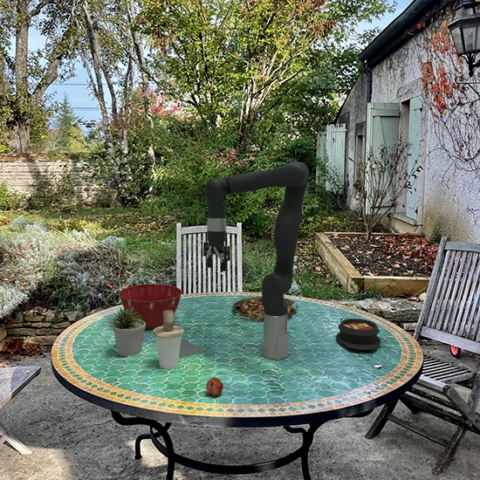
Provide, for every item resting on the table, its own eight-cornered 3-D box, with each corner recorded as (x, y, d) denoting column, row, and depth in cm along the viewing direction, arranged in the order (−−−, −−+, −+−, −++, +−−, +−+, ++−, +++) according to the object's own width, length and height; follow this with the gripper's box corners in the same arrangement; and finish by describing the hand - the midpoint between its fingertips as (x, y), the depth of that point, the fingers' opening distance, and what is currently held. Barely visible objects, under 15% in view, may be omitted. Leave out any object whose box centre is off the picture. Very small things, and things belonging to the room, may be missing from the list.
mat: (206, 352, 190) (206, 350, 190) (181, 360, 182) (181, 358, 182) (183, 340, 202) (183, 339, 202) (158, 347, 194) (158, 345, 194)
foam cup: (182, 361, 181) (182, 328, 179) (180, 372, 172) (180, 337, 170) (157, 361, 180) (157, 328, 178) (153, 372, 171) (153, 337, 169)
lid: (189, 333, 173) (189, 312, 172) (163, 340, 166) (163, 318, 165) (172, 325, 182) (172, 305, 180) (147, 332, 174) (147, 310, 173)
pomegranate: (209, 394, 159) (198, 388, 154) (217, 378, 161) (206, 372, 155) (222, 401, 156) (211, 395, 150) (230, 385, 158) (220, 378, 152)
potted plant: (108, 349, 192) (107, 300, 188) (143, 345, 196) (142, 297, 193) (111, 361, 180) (110, 309, 177) (148, 356, 185) (147, 306, 182)
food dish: (280, 330, 221) (280, 313, 219) (220, 318, 237) (219, 303, 236) (309, 308, 251) (310, 294, 249) (253, 299, 267) (253, 286, 266)
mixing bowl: (189, 330, 215) (189, 296, 212) (124, 337, 204) (123, 302, 202) (174, 312, 240) (173, 282, 238) (115, 317, 230) (114, 286, 228)
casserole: (386, 355, 190) (387, 335, 189) (338, 353, 192) (339, 333, 190) (374, 333, 215) (376, 315, 213) (332, 331, 216) (333, 313, 215)
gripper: (235, 230, 186) (235, 271, 189) (212, 226, 197) (212, 265, 199) (220, 232, 181) (220, 274, 184) (198, 227, 192) (198, 267, 194)
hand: (216, 269), depth 192 cm, fingers open, 8 cm apart
